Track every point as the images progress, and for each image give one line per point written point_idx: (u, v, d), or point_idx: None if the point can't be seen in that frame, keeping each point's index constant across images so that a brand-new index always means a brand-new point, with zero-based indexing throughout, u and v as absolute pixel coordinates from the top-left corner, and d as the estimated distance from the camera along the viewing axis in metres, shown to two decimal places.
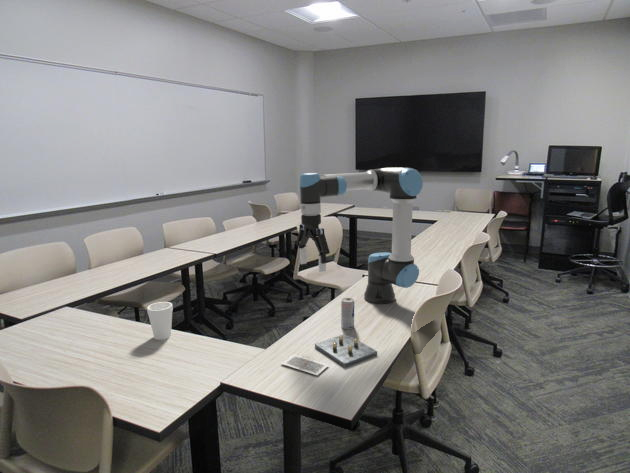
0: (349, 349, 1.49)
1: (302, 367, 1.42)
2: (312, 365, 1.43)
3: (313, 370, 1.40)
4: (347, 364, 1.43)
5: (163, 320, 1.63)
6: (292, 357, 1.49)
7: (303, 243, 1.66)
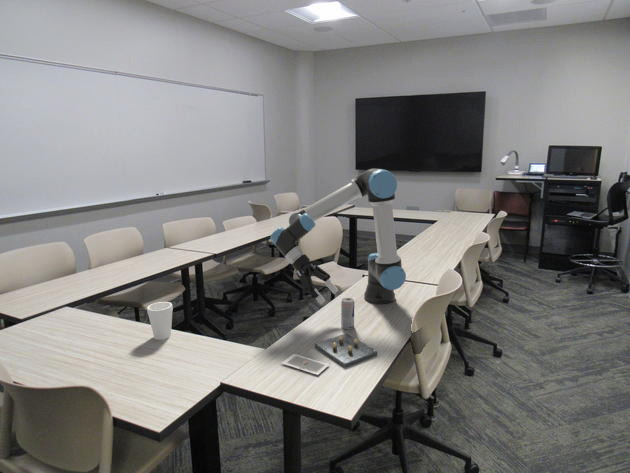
0: (349, 349, 1.49)
1: (303, 366, 1.42)
2: (312, 365, 1.43)
3: (313, 369, 1.40)
4: (347, 364, 1.43)
5: (163, 320, 1.63)
6: (292, 357, 1.49)
7: (321, 278, 1.81)
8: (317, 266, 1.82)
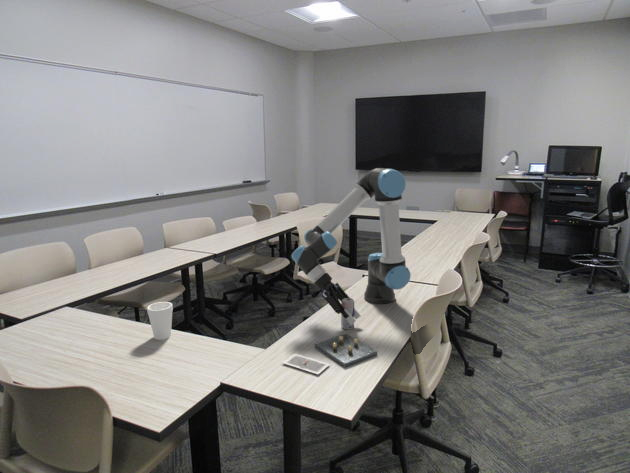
0: (349, 349, 1.49)
1: (303, 366, 1.43)
2: (313, 364, 1.44)
3: (314, 369, 1.40)
4: (347, 364, 1.43)
5: (163, 320, 1.63)
6: (293, 356, 1.49)
7: None
8: (340, 287, 1.79)
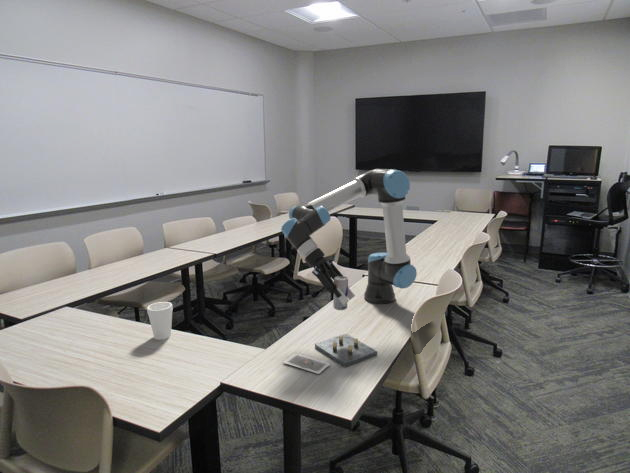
0: (349, 349, 1.49)
1: (304, 365, 1.43)
2: (313, 364, 1.44)
3: (314, 368, 1.41)
4: (347, 364, 1.43)
5: (163, 320, 1.63)
6: (294, 356, 1.49)
7: None
8: (333, 265, 1.64)
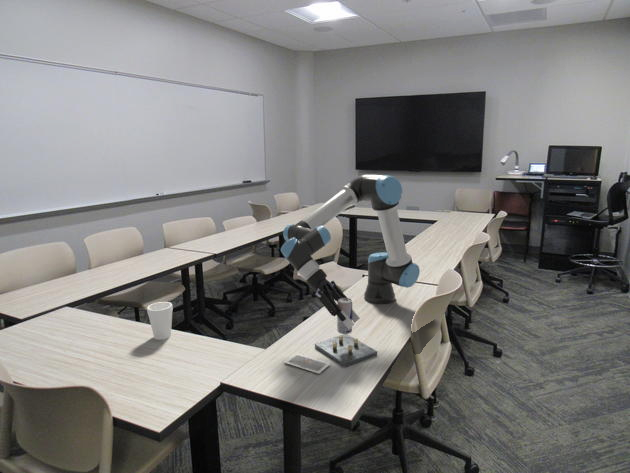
0: (349, 349, 1.49)
1: (304, 365, 1.43)
2: (314, 364, 1.44)
3: (314, 368, 1.41)
4: (347, 364, 1.43)
5: (163, 320, 1.63)
6: (294, 356, 1.50)
7: None
8: (336, 286, 1.56)
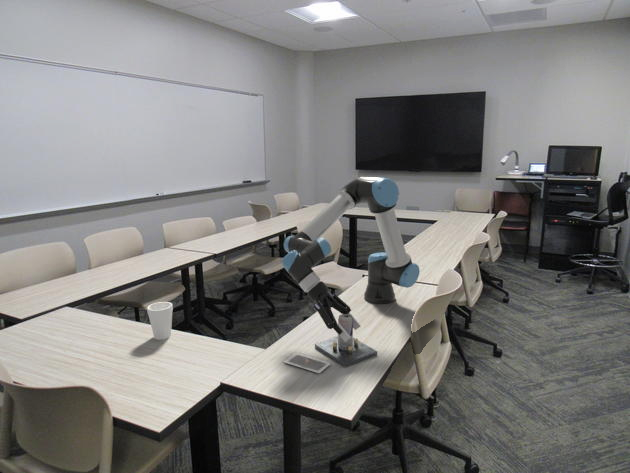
0: (349, 349, 1.49)
1: (304, 365, 1.43)
2: (314, 363, 1.44)
3: (315, 368, 1.41)
4: (347, 364, 1.43)
5: (163, 320, 1.63)
6: (294, 355, 1.50)
7: (340, 310, 1.57)
8: (336, 296, 1.58)
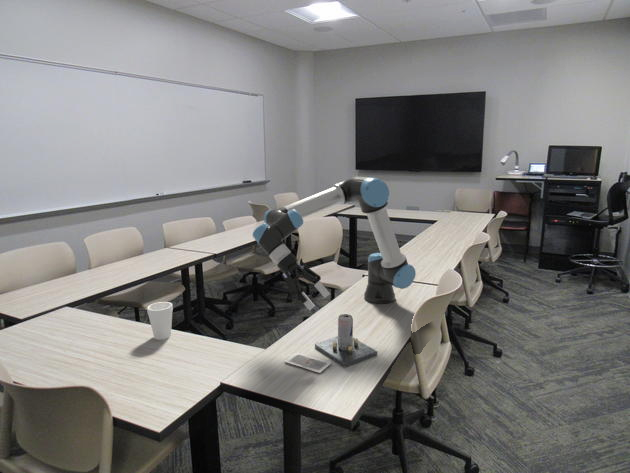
0: (349, 349, 1.49)
1: (305, 364, 1.43)
2: (314, 363, 1.44)
3: (315, 367, 1.41)
4: (347, 364, 1.43)
5: (163, 320, 1.63)
6: (295, 355, 1.50)
7: (311, 280, 1.61)
8: (306, 267, 1.62)
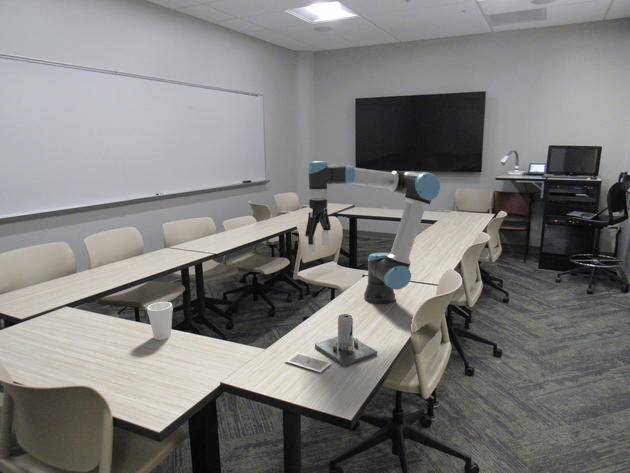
0: (349, 349, 1.49)
1: (305, 364, 1.44)
2: (315, 362, 1.45)
3: (316, 367, 1.42)
4: (347, 364, 1.43)
5: (163, 320, 1.63)
6: (295, 355, 1.50)
7: (323, 225, 1.81)
8: (327, 214, 1.80)
